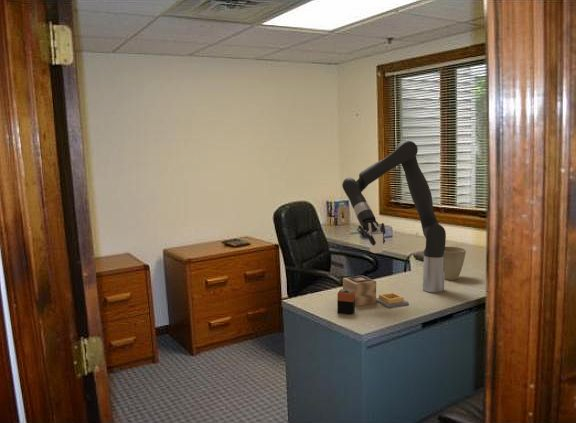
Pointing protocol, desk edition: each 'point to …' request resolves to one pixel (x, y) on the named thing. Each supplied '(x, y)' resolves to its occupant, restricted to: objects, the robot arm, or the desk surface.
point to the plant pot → (453, 262)
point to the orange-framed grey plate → (391, 300)
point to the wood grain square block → (361, 289)
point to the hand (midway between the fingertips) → (378, 243)
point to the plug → (377, 242)
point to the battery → (346, 302)
